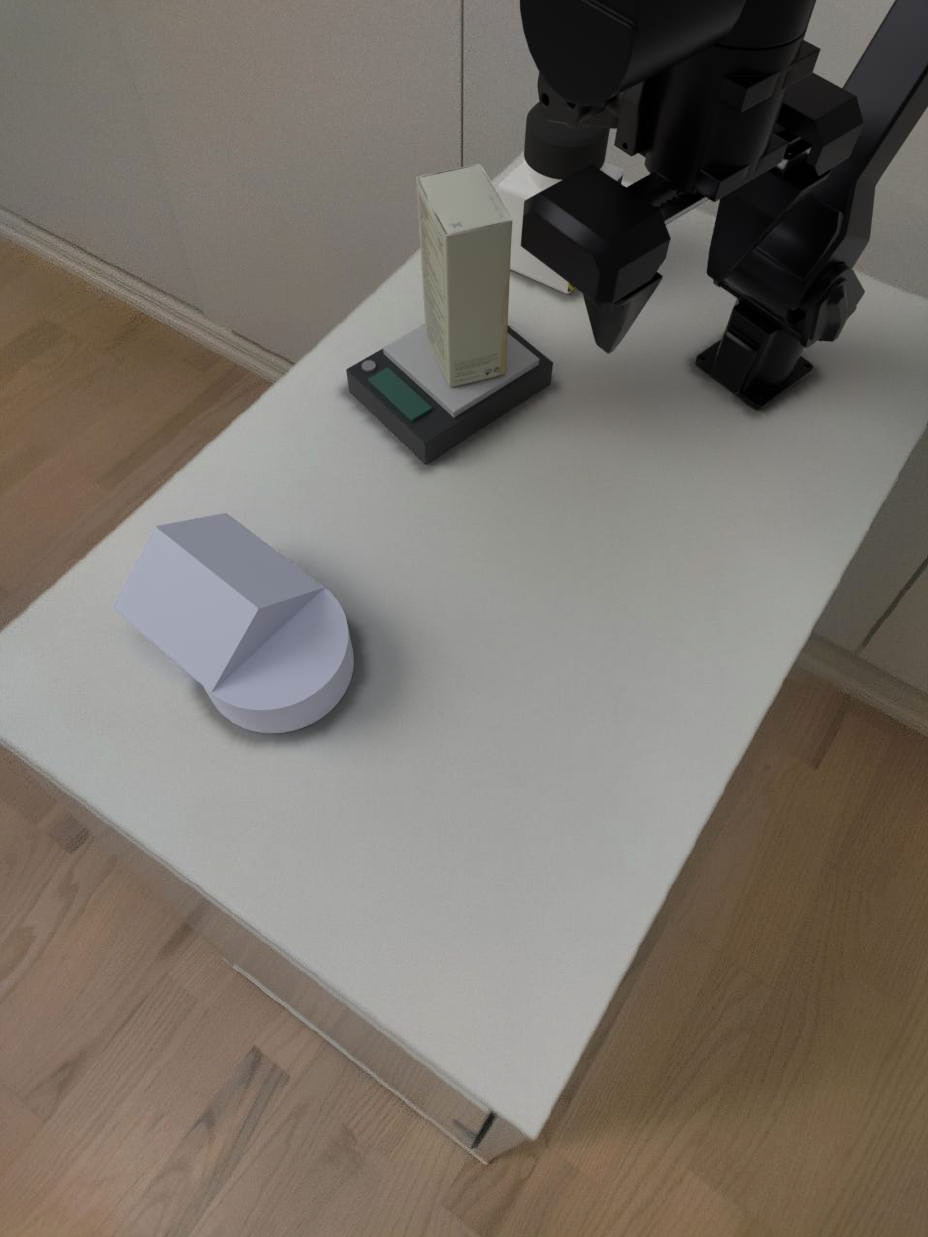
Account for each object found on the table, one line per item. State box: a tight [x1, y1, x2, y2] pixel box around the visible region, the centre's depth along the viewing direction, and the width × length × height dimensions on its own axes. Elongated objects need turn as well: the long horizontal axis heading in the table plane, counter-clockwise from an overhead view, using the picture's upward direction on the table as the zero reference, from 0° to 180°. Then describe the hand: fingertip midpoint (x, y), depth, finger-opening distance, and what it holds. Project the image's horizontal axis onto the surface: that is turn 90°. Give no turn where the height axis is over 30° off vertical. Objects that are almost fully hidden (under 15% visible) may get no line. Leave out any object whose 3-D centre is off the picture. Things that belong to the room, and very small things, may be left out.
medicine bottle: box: [497, 101, 624, 295], centre depth 67 cm, size 7×7×12 cm
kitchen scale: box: [345, 323, 554, 465], centre depth 63 cm, size 12×9×3 cm
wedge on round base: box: [112, 512, 355, 734], centre depth 51 cm, size 9×7×13 cm
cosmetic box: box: [415, 163, 512, 387], centre depth 57 cm, size 6×4×12 cm
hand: (661, 311), depth 50 cm, fingers open, 9 cm apart
